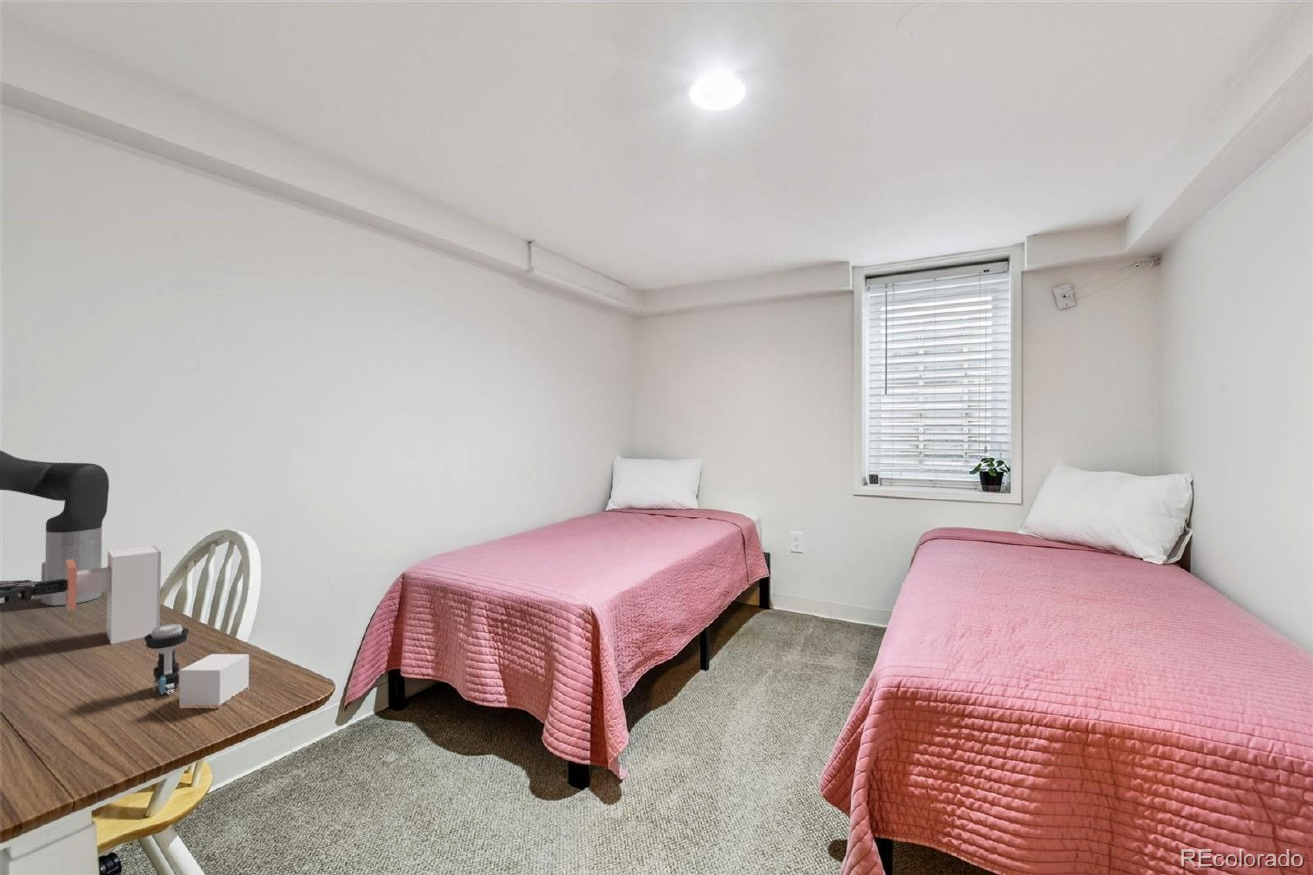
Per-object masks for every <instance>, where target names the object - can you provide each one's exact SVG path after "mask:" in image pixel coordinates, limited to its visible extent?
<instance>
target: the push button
mask: <svg viewBox="0 0 1313 875" xmlns="http://www.w3.org/2000/svg"><path fill="white" fill-rule="evenodd" d="M189 632H190V629H189V628H186V627H183V625H182V624H180V623H170V624H164V625H160V626H159V627H156V628H154V629H153V630H152V633H151V634H149V635H147V636H145V637H144V638H143V640H144V642H145V647H146V648H148V649H151V650H154V651H159V653H158V660H157V666H156V667H154V668H153V677H154V680H153V682H152V683H153V684H152V685H153V686H152V687H153V688H152V690H154V691H155V692H156V687H157V686H158V687H159V689H160V691H161V693H166V692H167V695H171V694H174V693H175V692H174V690H175V691H176V687H177V686H178V685H179V686H180V673H179V672H180V663H179V662H176V658H175V656H176V653H175V652H176V650H174V649H175V648H176V647H178V646H181V644H182V643H184V642H186V641H187V640H188V635H189ZM158 687H157V688H158ZM159 689H158V690H159ZM154 691H153V692H154ZM160 691H159V692H160ZM169 692H171V693H169Z"/></svg>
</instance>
